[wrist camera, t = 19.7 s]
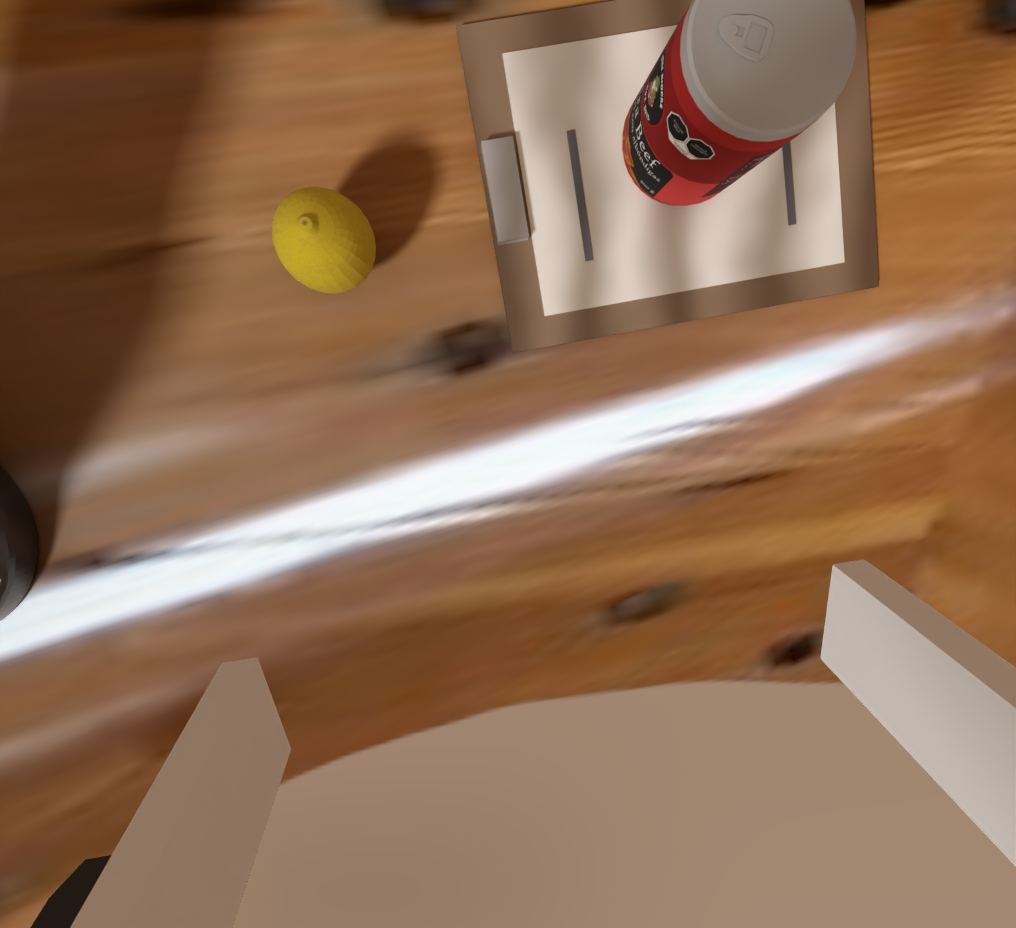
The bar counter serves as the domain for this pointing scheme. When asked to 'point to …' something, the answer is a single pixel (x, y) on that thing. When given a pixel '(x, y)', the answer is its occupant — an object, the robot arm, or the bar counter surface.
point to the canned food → (734, 92)
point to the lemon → (323, 240)
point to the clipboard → (631, 213)
